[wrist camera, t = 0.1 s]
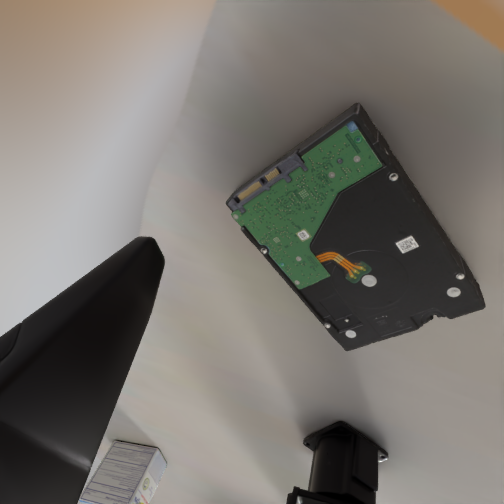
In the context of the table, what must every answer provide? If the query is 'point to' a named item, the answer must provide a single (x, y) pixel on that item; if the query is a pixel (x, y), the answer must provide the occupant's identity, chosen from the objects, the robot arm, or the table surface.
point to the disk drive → (354, 236)
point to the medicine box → (125, 475)
